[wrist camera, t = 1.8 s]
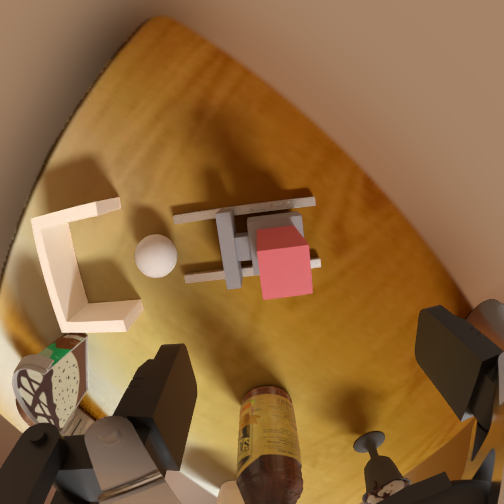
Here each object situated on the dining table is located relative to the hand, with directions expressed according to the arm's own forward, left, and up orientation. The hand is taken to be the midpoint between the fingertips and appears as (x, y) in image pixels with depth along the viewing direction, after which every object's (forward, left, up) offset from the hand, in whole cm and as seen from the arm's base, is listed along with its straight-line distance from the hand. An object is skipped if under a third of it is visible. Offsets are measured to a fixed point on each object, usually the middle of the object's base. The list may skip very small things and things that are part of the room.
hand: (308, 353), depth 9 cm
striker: (+1, 0, -19) cm, 19 cm away
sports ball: (+11, 0, -20) cm, 23 cm away
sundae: (-11, +32, -20) cm, 39 cm away
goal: (+18, 0, -20) cm, 27 cm away
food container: (+28, +12, -20) cm, 36 cm away
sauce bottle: (+3, +20, -20) cm, 28 cm away
